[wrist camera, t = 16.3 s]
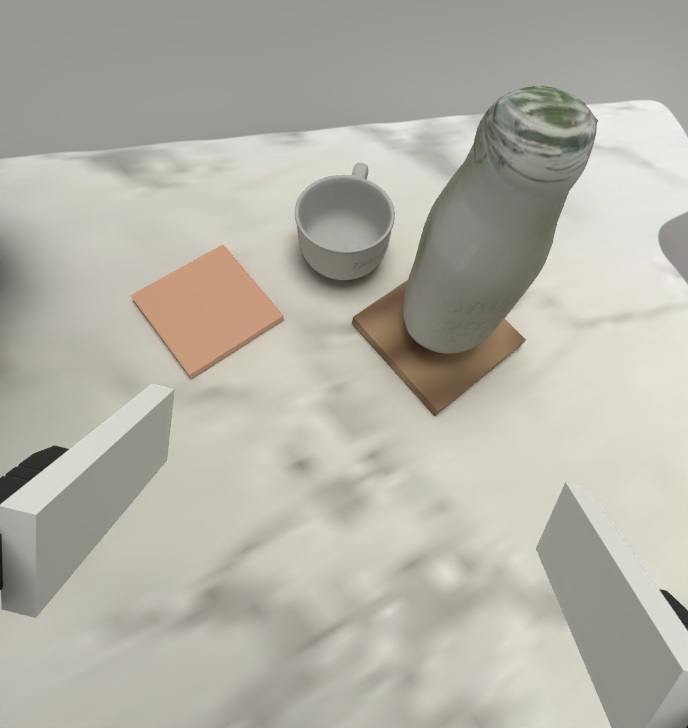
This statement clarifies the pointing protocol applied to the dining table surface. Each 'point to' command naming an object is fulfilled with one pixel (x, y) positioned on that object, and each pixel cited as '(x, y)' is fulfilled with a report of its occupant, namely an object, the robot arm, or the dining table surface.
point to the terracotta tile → (207, 310)
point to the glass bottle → (496, 218)
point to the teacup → (344, 224)
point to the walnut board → (430, 353)
